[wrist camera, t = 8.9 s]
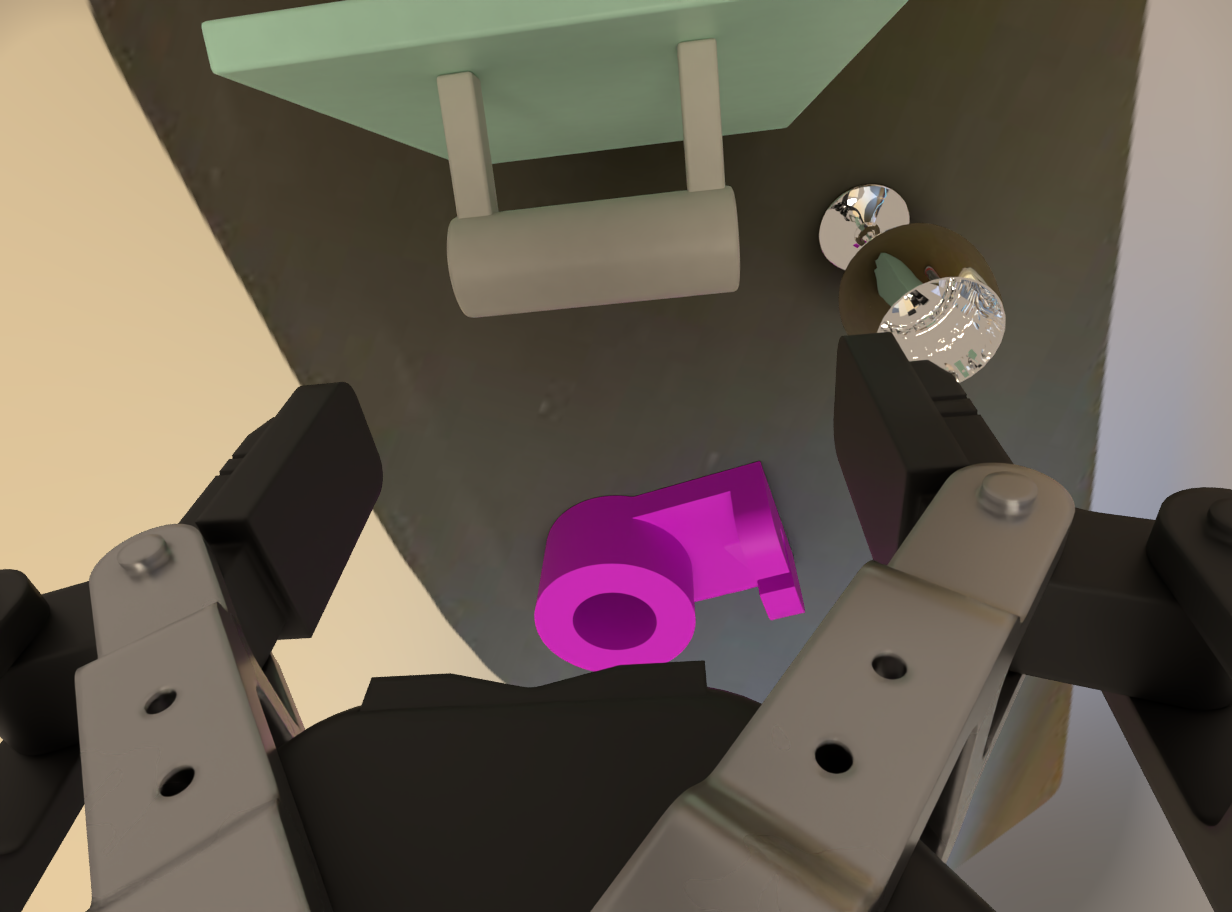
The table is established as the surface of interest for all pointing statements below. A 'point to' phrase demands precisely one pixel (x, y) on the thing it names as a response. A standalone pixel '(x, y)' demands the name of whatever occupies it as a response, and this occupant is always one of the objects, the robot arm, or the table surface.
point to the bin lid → (561, 118)
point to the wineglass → (912, 281)
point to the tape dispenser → (660, 567)
